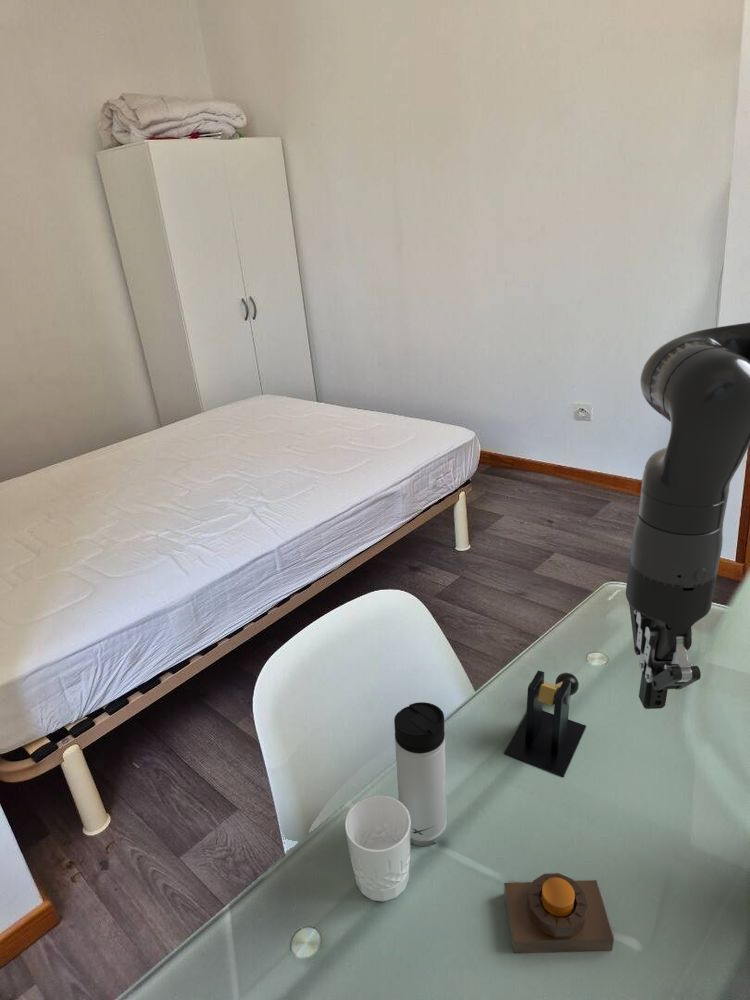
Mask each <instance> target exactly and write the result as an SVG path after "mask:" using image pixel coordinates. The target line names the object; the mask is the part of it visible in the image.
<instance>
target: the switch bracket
mask: <svg viewBox="0 0 750 1000" xmlns="http://www.w3.org/2000/svg"><path fill="white" fill-rule="evenodd" d="M544 683H545V672H544V671H543V670H537V671H536V673H535V675H534V676H533V678H532V680H531V681H530V682H529V684H528V685H527V694H526V695H527V696H526V713H525V715H524V717H523V718H522V719H521V722H520V724H519V725H518V727H517V729H516V731H515V732H514V734H513V736H512V738H511V739H510V742H509V743H508V745H507V747H506V748H505V750H504V752H503V754H504V755H505V756H507V757H510V758H513V759H515V760H518V761H521V762H523V763H526V764H528V765H531V766H533V767H536V768H538V769H541V770H544V771H547V772H548V773H551V774H554V775H556V776H559V777H562V778H564V777H565V775H566V773H567V771H568V769H569V767H570V765H571V762H572V760H573V758H574V756H575V753H576V751H577V749H578V747H579V744H580V742H581V740H582V738H583V735H584V734H585V731H586V729H587V725H586V724H583V723H581V722H577V721H575V720H571V719H569V714H570V713H569V712H570V703H571V699H572V695H571V696H570V690H571V680H568V679H564V681H563V683H562V685H561V687H560V688H559V690H558V692H557V694H556V696H555V703H554V705H553V713H552V712H549V711H545V710H543V704H544V703H543V702H540V701H538V696H539V691H540V687H541V685H542V684H544Z"/></svg>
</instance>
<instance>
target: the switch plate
mask: <svg viewBox="0 0 750 1000" xmlns="http://www.w3.org/2000/svg"><path fill="white" fill-rule="evenodd" d="M550 878H561V879H564V880H566V881H567V882H568V883H569V884H570V885H571V886H572V888H573V890H574V893H575V899H574V908H573V910H572V912H571V913H570V914H569V915H567V916H564V917H557V916H554V915H552V914H550V913H549V912H548V911H547V910H546V909H545V908H544V906H543V904H542V900H541V897H542V887H543V884H544V883H545V881H546V880H548V879H550ZM503 885H504V886H503V897H504V903H505V909H506V916H507V921H508V928H509V935H510V940H511V946H512V951H513V954H539V953H542V954H544V953H545V954H546V953H578V952H579V953H580V952H612V951H613V947H614V940H615V938H614V934H613V931H612V928H611V924H610V921H609V918H608V915H607V911H606V907H605V904H604V901H603V898H602V894H601V891H600V887H599V884H598V881H597V879H587V880H574V879H573V878H571V877H569V876H566V875H563V874H562V873H560V872H559V873H557V872H556V873H554V872H553V873H551V872H550V873H543V874H541V875H539V876H538V877H537V878H535V879H534V880H533V881H521V882H518V881H517V882H504V883H503Z"/></svg>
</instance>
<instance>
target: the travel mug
mask: <svg viewBox="0 0 750 1000" xmlns="http://www.w3.org/2000/svg"><path fill="white" fill-rule="evenodd" d="M393 721H394V722H393V723H394V746H395V747H394V748H395V762H396V764H395V765H396V778H397V780H396V781H397V794H398V796H397V797H398V801H400V802H401V803H402V804H403V805H404V806H405V807H406V809H407V810H408V812H409V815H410V819H411V843H410V844H412V845H415V846H419V847H430V846H433V845H436V842H435V841H437V840H438V839H440V838H441V837H442V836H443V835H444V833H445V831H446V829H447V824H448V818H447V817H448V816H447V815H448V813H447V769H446V768H447V767H446V766H447V765H446V764H447V763H446V762H447V761H446V732H445V714H444V712H443V710H442V709H441V708H440V707H439V706H438V705H436V704H434V703H431V702H425V701H424V702H422V701H421V702H413V703H410V704H409V705H408V706H405V707H403V708H401V709H400V710H399V711H398V712H396V714H395V715H394V719H393Z"/></svg>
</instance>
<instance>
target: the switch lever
mask: <svg viewBox="0 0 750 1000" xmlns="http://www.w3.org/2000/svg"><path fill="white" fill-rule="evenodd" d="M564 679H568V680H571V690H570V696H571V697H572V696H573V695H575V694H576V693H577V692H578V690H579V687H580V682H579V679H578V678H577V677H576V676H575V675H574V674H573V673H570V672H562V673H560V674H558V675H557V677H556V679H555V682H554V683H555V684H553V683H550V682H544V684H542V685H541V687H540V691H539V696H538V701H540V702H543V704H546V705H549V706H552V707H553V706H554V703H555V696H556V694H557V692H558V690H559V688H560V687H561V685H562V683H563V681H564Z"/></svg>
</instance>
